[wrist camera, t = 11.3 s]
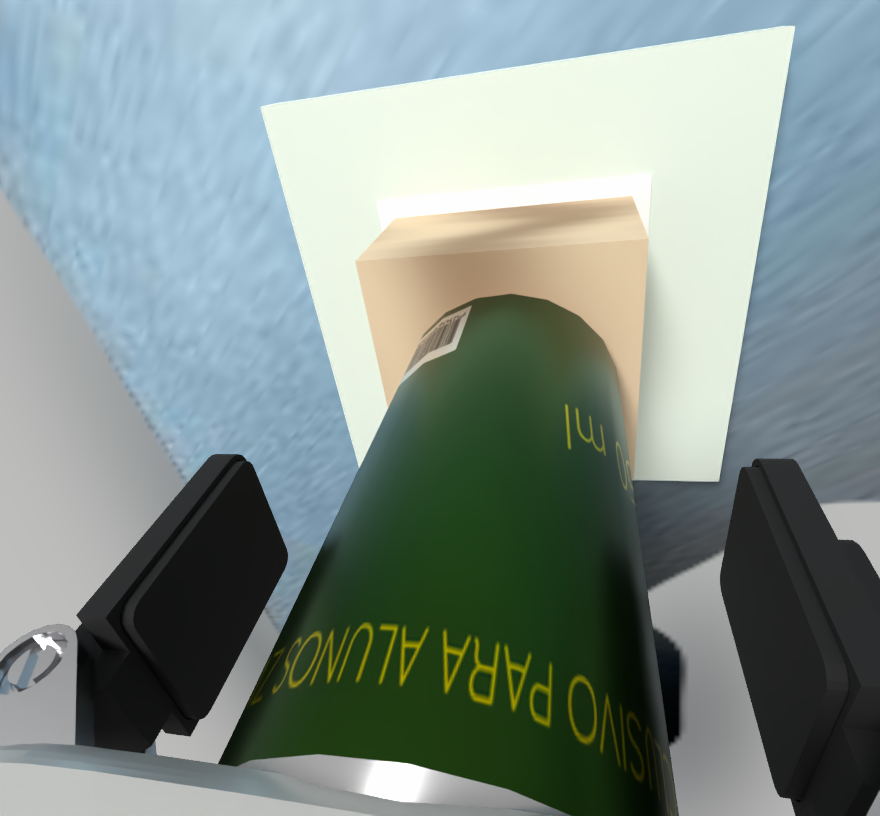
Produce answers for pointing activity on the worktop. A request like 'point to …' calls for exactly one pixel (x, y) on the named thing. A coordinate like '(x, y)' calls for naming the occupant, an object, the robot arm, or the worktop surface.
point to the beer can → (479, 592)
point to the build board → (554, 181)
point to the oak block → (512, 278)
